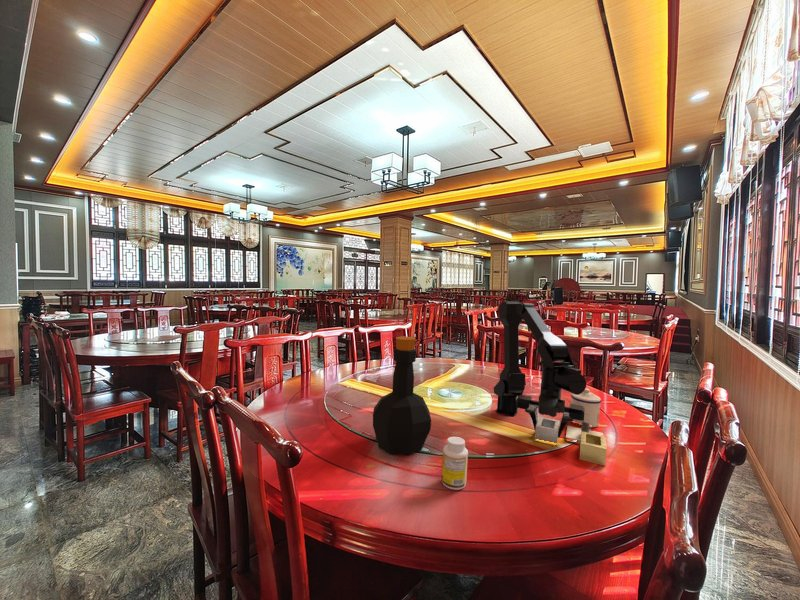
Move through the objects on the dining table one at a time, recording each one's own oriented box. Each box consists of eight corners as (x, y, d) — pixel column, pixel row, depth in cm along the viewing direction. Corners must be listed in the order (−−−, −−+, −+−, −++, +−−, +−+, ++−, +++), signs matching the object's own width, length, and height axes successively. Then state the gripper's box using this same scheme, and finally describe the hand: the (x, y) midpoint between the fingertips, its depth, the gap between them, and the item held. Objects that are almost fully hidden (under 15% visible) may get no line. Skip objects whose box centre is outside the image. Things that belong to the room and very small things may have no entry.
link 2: (605, 465, 94) (606, 449, 94) (579, 459, 97) (580, 443, 97) (603, 451, 102) (605, 436, 102) (580, 446, 105) (581, 431, 105)
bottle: (363, 436, 105) (368, 333, 103) (416, 430, 110) (421, 332, 109) (380, 463, 90) (386, 343, 88) (439, 455, 96) (446, 342, 94)
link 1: (556, 446, 104) (557, 431, 104) (534, 441, 107) (535, 426, 107) (559, 435, 112) (560, 420, 112) (538, 430, 115) (539, 416, 115)
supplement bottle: (449, 474, 86) (452, 432, 86) (470, 484, 83) (473, 440, 82) (436, 484, 82) (439, 440, 82) (457, 494, 79) (460, 448, 78)
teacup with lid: (604, 428, 119) (607, 394, 118) (576, 427, 119) (579, 392, 118) (586, 415, 131) (589, 383, 130) (561, 413, 131) (563, 381, 130)
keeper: (565, 440, 108) (566, 423, 108) (567, 429, 117) (568, 413, 117) (603, 449, 104) (605, 431, 103) (602, 436, 113) (604, 420, 112)
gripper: (514, 384, 106) (510, 436, 107) (586, 397, 97) (581, 453, 98) (520, 376, 116) (517, 424, 117) (586, 387, 107) (582, 438, 108)
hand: (547, 434), depth 110 cm, fingers closed on link 1, 6 cm apart
